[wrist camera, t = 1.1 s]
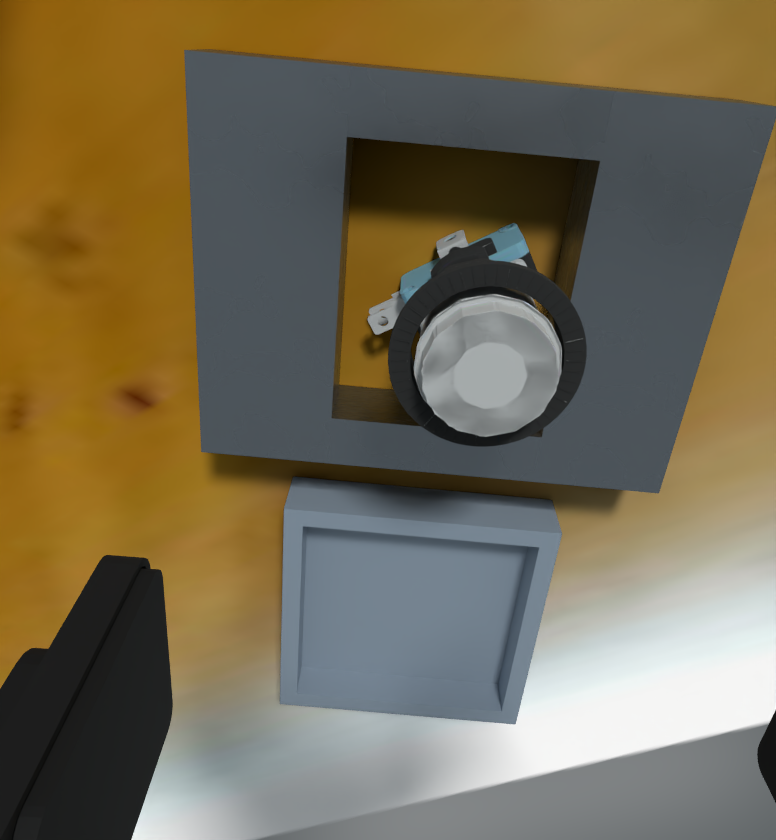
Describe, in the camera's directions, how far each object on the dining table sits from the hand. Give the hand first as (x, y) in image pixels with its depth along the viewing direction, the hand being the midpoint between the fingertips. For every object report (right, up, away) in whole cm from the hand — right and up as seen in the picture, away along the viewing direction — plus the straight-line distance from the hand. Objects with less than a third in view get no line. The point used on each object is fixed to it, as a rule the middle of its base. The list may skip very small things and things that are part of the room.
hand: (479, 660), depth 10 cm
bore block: (+1, +9, +17) cm, 19 cm away
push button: (+1, +9, +17) cm, 20 cm away
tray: (0, -5, +24) cm, 25 cm away
